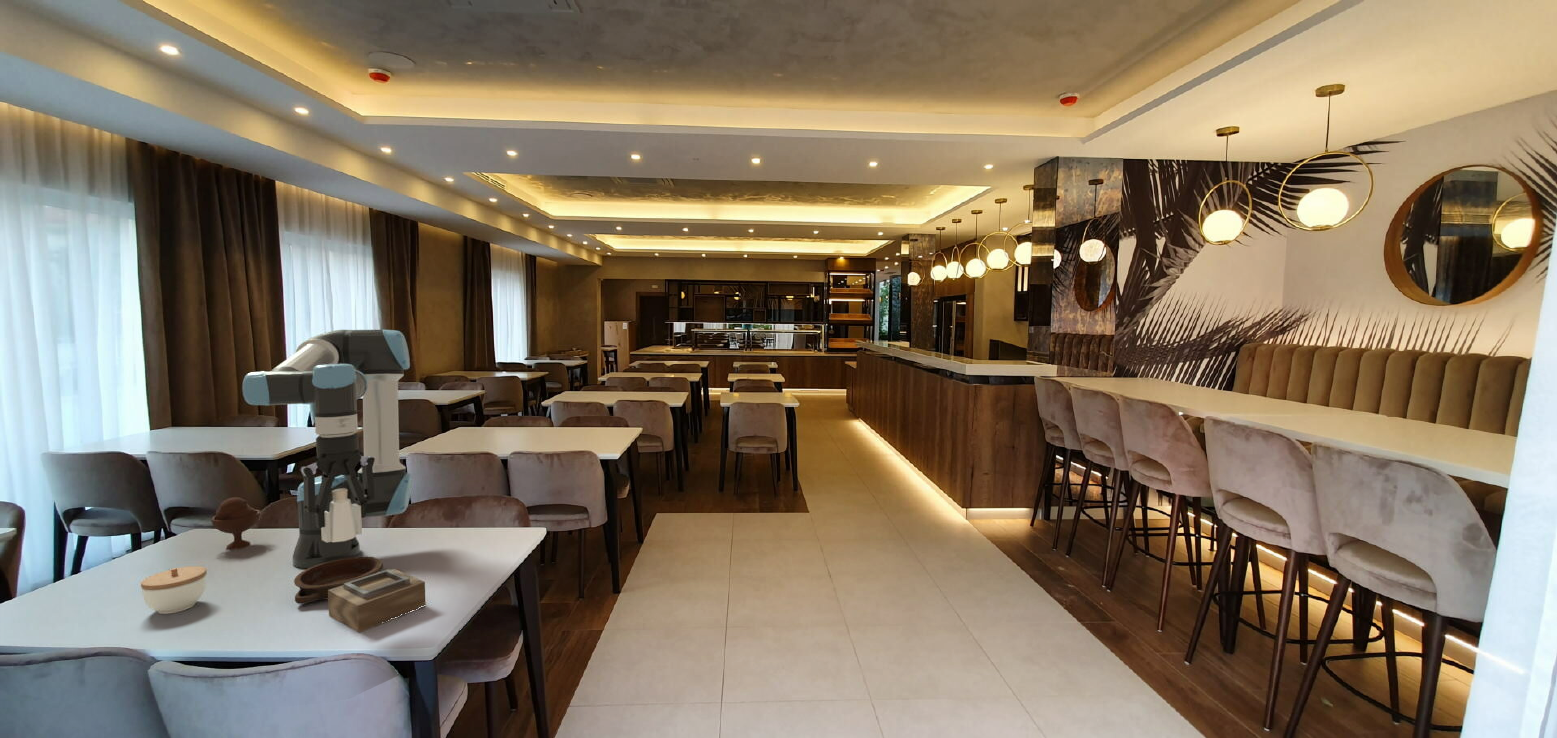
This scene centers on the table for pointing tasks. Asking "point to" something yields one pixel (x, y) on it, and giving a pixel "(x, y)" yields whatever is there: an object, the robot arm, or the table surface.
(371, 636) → the table surface
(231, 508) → the ice cream bowl
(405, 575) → the display riser
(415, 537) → the table surface
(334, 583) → the dish
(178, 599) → the lidded jar
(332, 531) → the pepper shaker
